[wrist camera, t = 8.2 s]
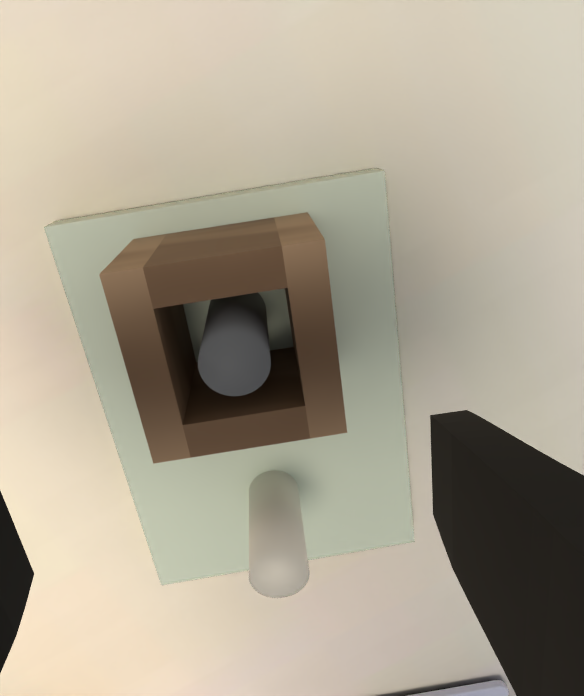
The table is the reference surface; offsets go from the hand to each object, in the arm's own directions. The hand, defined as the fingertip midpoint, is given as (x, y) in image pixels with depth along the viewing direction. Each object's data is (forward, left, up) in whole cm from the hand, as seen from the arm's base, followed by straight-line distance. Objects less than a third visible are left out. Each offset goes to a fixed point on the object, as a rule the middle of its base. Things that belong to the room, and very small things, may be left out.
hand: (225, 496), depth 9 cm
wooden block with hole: (0, 0, -9) cm, 9 cm away
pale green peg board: (-3, 0, -10) cm, 10 cm away
